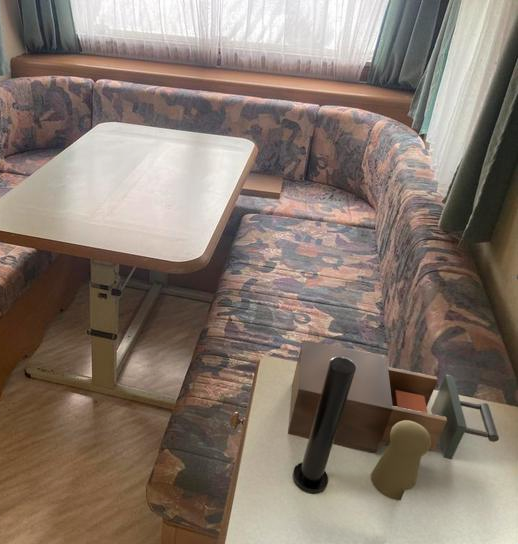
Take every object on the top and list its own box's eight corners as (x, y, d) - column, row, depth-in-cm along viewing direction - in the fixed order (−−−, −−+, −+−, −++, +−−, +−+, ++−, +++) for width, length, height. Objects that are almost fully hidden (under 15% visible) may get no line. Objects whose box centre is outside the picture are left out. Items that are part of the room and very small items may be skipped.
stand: (332, 477, 85) (368, 362, 73) (319, 500, 81) (356, 384, 70) (300, 460, 87) (331, 347, 76) (286, 482, 84) (316, 366, 72)
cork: (375, 497, 82) (396, 444, 76) (367, 463, 87) (386, 411, 81) (418, 503, 82) (443, 449, 76) (407, 468, 87) (430, 416, 81)
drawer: (475, 419, 95) (491, 383, 91) (490, 473, 86) (510, 436, 82) (361, 394, 99) (372, 359, 95) (363, 444, 89) (376, 407, 85)
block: (416, 415, 94) (424, 395, 91) (419, 435, 90) (428, 415, 88) (388, 409, 94) (395, 389, 92) (390, 429, 91) (397, 408, 88)
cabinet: (372, 399, 99) (386, 356, 94) (376, 454, 89) (393, 409, 84) (292, 382, 102) (302, 339, 97) (287, 433, 91) (298, 389, 86)
